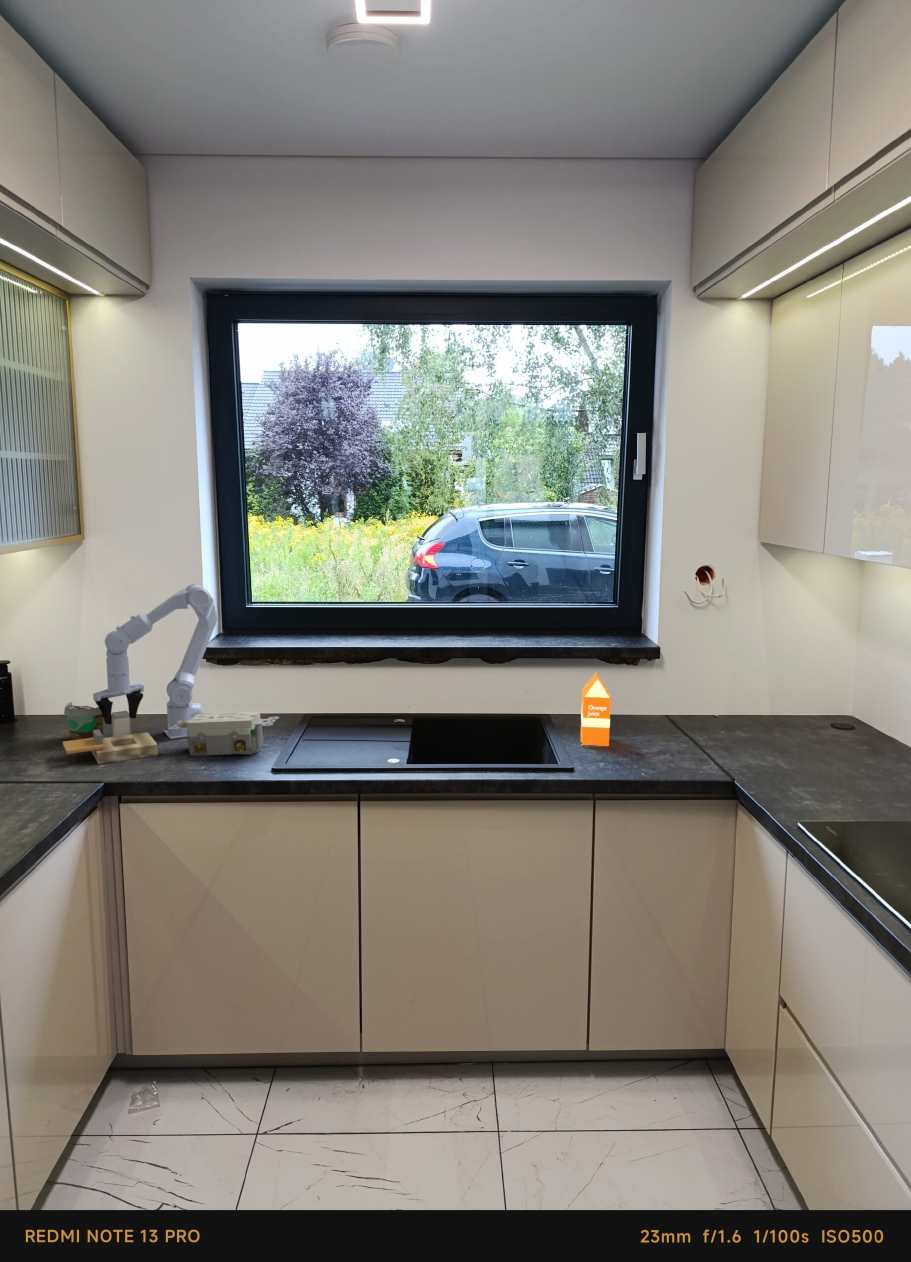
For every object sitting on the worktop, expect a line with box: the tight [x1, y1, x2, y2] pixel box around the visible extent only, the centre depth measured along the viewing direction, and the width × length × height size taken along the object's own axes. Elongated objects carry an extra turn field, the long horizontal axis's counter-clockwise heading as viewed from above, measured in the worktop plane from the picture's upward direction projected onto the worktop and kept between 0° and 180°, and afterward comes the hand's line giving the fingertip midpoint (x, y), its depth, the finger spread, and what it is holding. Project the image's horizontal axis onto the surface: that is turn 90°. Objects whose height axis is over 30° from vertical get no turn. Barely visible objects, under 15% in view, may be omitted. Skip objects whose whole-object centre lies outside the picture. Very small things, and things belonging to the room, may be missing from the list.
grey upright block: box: [111, 710, 131, 737], centre depth 238 cm, size 4×4×8 cm
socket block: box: [90, 731, 159, 765], centre depth 228 cm, size 15×13×3 cm
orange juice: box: [580, 672, 612, 746], centre depth 240 cm, size 8×9×20 cm
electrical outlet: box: [167, 711, 280, 757], centre depth 230 cm, size 12×28×10 cm, turn 87°
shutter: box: [62, 729, 104, 755], centre depth 222 cm, size 9×9×3 cm
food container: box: [63, 702, 104, 741], centre depth 237 cm, size 12×6×10 cm, turn 71°
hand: (120, 720), depth 238 cm, fingers open, 7 cm apart
